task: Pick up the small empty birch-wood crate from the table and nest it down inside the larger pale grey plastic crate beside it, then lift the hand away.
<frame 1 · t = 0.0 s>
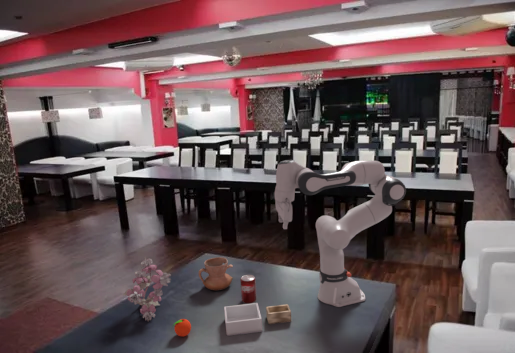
hand: (282, 225, 177), 39 cm above the table, tool pointing down, fingers open, 8 cm apart
birch crate: (278, 319, 172), on the table
ceramic jug: (217, 286, 205), on the table
grey crate: (243, 325, 169), on the table
clementine: (182, 335, 164), on the table
flower: (150, 313, 182), on the table
soda can: (249, 300, 189), on the table
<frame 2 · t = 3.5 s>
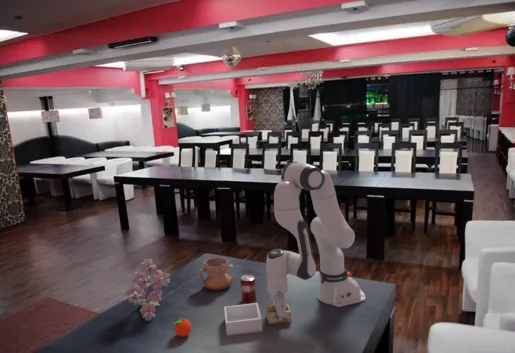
hand: (278, 315, 172), 2 cm above the table, tool pointing down, fingers closed on birch crate, 6 cm apart
birch crate: (278, 319, 172), on the table, touching gripper
everything else where it was.
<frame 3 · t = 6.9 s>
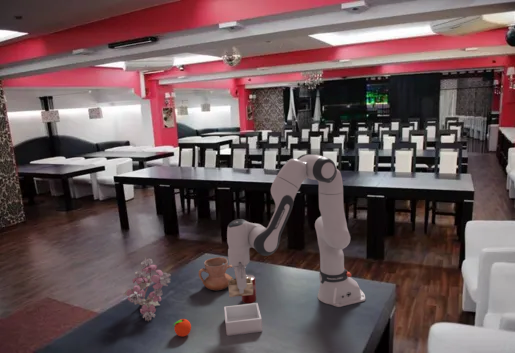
hand: (240, 288, 165), 17 cm above the table, tool pointing down, fingers closed on birch crate, 6 cm apart
birch crate: (240, 292, 166), point 16 cm above the table, touching gripper
everything else where it was.
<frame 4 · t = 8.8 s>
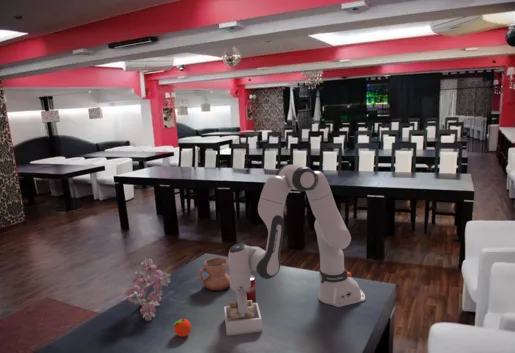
hand: (241, 311, 168), 6 cm above the table, tool pointing down, fingers closed on birch crate, 6 cm apart
birch crate: (241, 315, 168), point 5 cm above the table, touching gripper
everything else where it was.
when the fingers open (5 cm above the table, at t = 10.2 s): birch crate drops 2 cm, resting on grey crate.
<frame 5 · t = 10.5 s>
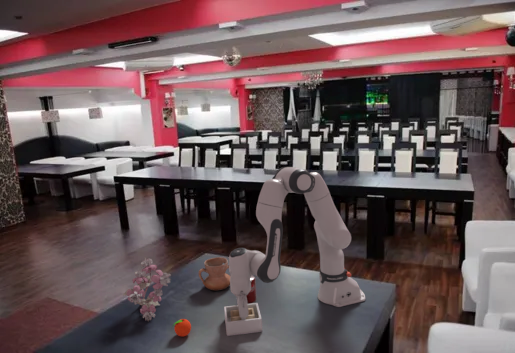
hand: (242, 315, 168), 5 cm above the table, tool pointing down, fingers open, 8 cm apart
birch crate: (242, 323, 169), point 1 cm above the table, touching grey crate
everything else where it was.
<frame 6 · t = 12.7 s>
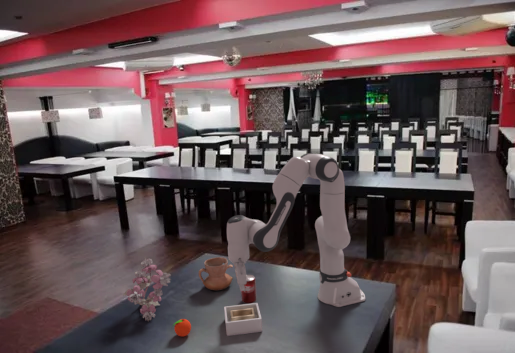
hand: (240, 284, 165), 19 cm above the table, tool pointing down, fingers open, 8 cm apart
nothing on the table moved.
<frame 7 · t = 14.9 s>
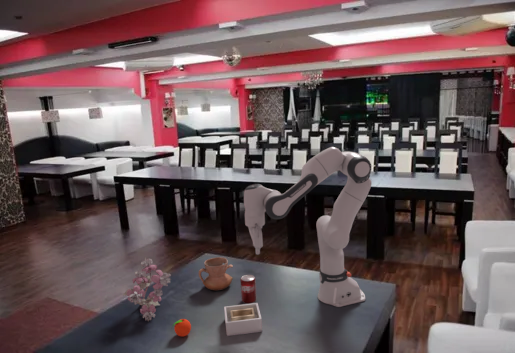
hand: (256, 249, 176), 29 cm above the table, tool pointing down, fingers open, 8 cm apart
nothing on the table moved.
at the end: birch crate 0.0 cm off-centre on the grey crate, point 0.8 cm above the grey crate's base; birch crate tilted 0°; the gripper is holding nothing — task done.
